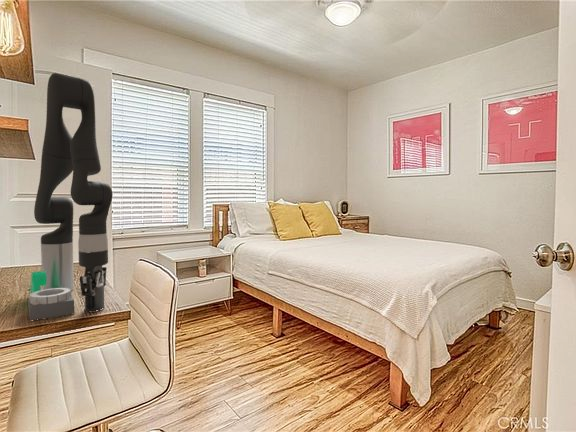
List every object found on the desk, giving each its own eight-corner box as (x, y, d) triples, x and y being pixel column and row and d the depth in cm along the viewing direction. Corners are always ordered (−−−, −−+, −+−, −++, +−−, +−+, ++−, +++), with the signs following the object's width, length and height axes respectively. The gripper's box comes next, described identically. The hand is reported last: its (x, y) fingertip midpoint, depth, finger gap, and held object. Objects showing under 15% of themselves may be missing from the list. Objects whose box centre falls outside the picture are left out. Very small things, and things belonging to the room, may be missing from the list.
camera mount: (66, 304, 104) (65, 272, 103) (35, 310, 99) (34, 275, 98) (59, 296, 113) (58, 266, 112) (30, 300, 107) (29, 269, 107)
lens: (89, 306, 101) (88, 282, 101) (106, 306, 102) (106, 281, 102) (82, 312, 96) (81, 286, 96) (100, 311, 97) (100, 286, 97)
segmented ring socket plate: (28, 311, 97) (27, 291, 96) (69, 305, 103) (68, 285, 103) (30, 321, 89) (29, 299, 89) (74, 313, 95) (73, 293, 95)
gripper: (89, 245, 105) (90, 298, 106) (68, 253, 91) (69, 314, 92) (115, 245, 106) (116, 297, 107) (97, 252, 92) (99, 313, 93)
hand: (94, 305), depth 99 cm, fingers closed on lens, 5 cm apart
